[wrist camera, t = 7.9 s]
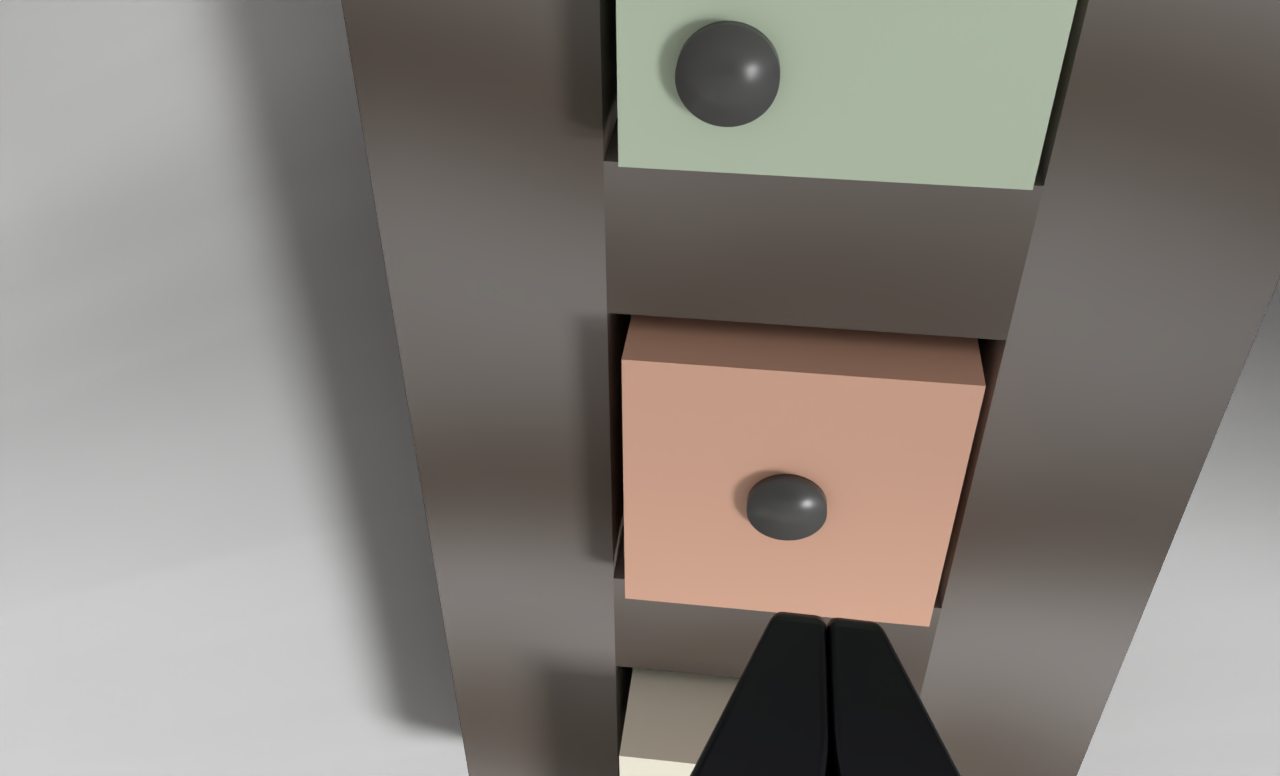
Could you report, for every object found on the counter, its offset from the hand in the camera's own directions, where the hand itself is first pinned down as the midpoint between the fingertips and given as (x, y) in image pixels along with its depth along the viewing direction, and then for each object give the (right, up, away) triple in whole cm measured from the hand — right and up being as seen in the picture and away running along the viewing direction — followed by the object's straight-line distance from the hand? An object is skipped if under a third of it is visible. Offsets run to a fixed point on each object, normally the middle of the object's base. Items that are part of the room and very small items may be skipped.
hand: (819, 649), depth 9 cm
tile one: (+1, +3, +12) cm, 12 cm away
